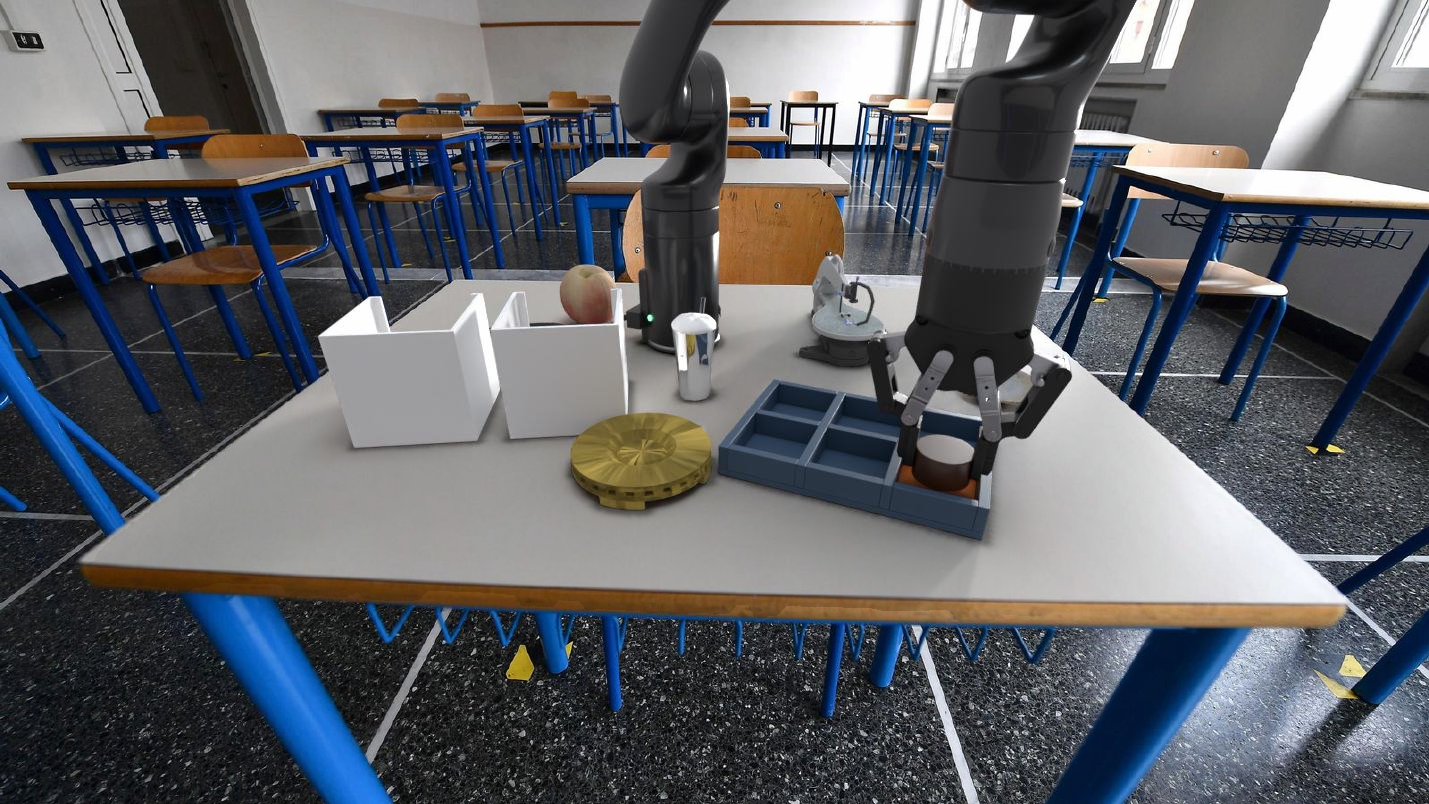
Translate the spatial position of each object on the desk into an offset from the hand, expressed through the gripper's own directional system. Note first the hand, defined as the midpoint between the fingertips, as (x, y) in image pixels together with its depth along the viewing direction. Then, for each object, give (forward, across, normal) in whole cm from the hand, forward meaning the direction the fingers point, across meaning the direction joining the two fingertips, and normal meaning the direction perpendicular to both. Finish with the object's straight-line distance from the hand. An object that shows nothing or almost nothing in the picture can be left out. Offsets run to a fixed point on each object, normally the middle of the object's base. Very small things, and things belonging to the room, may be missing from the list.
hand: (941, 466), depth 47 cm
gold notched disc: (+3, +24, +6) cm, 25 cm away
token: (+1, 0, 0) cm, 1 cm away
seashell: (+3, -4, -22) cm, 23 cm away
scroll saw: (+3, +16, -31) cm, 35 cm away
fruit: (+3, +49, -23) cm, 54 cm away
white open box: (+3, +42, +3) cm, 42 cm away
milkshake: (+3, +26, -9) cm, 28 cm away
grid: (+3, +7, -3) cm, 8 cm away
